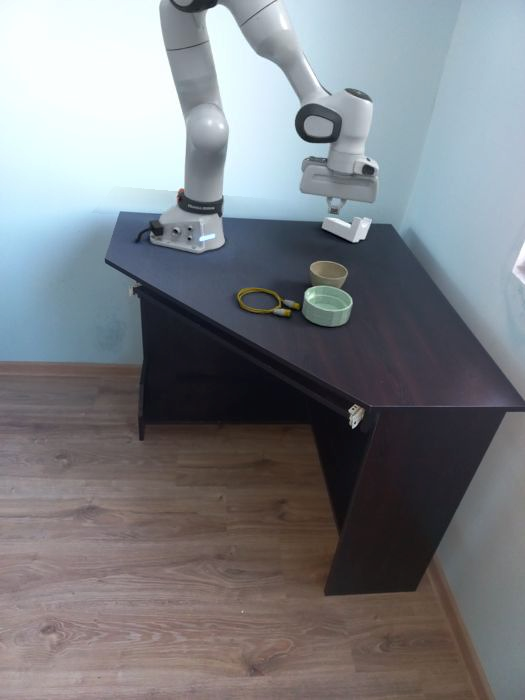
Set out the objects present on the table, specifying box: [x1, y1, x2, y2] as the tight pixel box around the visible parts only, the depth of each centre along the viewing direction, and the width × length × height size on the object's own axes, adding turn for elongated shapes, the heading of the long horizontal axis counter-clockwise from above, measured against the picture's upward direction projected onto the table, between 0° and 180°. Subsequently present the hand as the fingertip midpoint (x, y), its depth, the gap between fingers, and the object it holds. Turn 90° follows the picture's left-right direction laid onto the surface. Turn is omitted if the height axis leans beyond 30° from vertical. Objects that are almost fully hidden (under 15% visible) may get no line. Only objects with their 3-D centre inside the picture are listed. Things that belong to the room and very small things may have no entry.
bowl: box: [301, 286, 354, 328], centre depth 135 cm, size 12×12×5 cm
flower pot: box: [309, 260, 349, 289], centre depth 143 cm, size 10×10×7 cm
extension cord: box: [236, 287, 301, 318], centre depth 136 cm, size 12×16×2 cm
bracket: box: [321, 216, 373, 243], centre depth 176 cm, size 13×7×8 cm, turn 46°
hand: (333, 213), depth 142 cm, fingers closed
